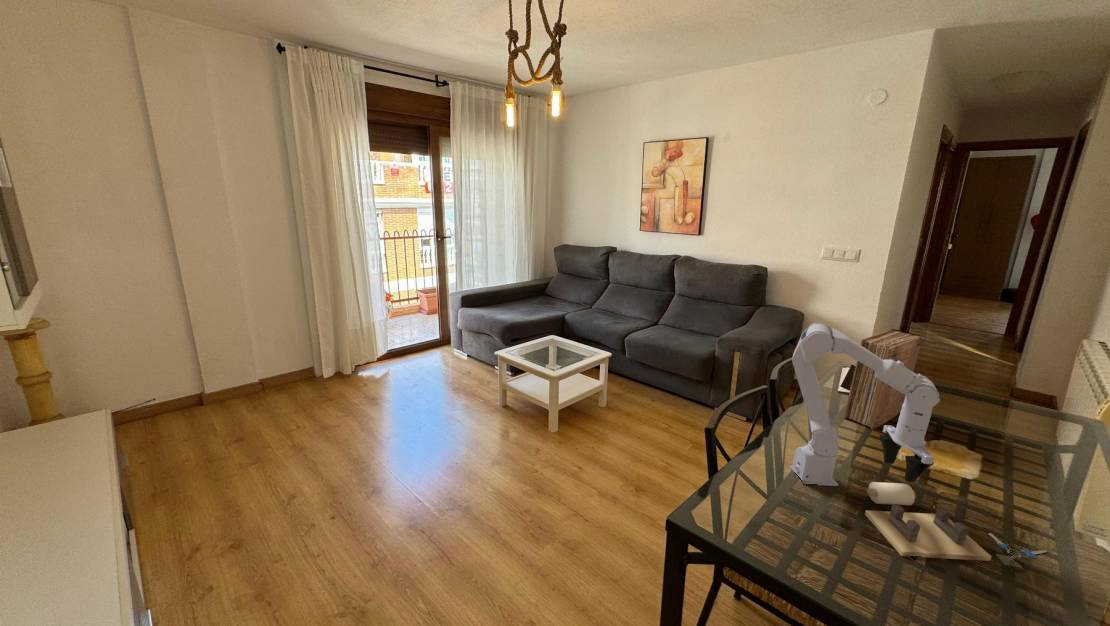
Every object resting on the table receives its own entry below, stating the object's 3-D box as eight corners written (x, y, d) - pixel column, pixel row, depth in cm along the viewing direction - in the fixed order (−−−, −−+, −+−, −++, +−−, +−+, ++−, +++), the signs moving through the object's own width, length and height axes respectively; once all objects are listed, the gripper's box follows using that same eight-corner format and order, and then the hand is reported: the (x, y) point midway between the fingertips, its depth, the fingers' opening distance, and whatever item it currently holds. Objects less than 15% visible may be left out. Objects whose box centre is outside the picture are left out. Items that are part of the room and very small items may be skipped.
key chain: (1016, 573, 95) (1017, 570, 94) (969, 545, 102) (970, 542, 102) (1047, 553, 100) (1048, 550, 100) (1000, 528, 107) (1001, 525, 107)
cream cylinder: (873, 507, 113) (878, 491, 112) (860, 493, 118) (865, 477, 116) (917, 510, 113) (923, 493, 111) (903, 495, 118) (908, 479, 116)
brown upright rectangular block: (871, 430, 150) (892, 347, 142) (842, 418, 157) (861, 339, 149) (903, 412, 164) (923, 335, 155) (875, 401, 171) (893, 328, 163)
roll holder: (901, 555, 98) (907, 535, 96) (864, 514, 110) (869, 495, 109) (989, 560, 97) (997, 540, 96) (942, 518, 110) (948, 499, 108)
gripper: (952, 441, 103) (937, 490, 107) (907, 411, 117) (894, 455, 121) (922, 440, 103) (907, 489, 107) (880, 410, 117) (868, 454, 121)
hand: (898, 471), depth 114 cm, fingers open, 7 cm apart
